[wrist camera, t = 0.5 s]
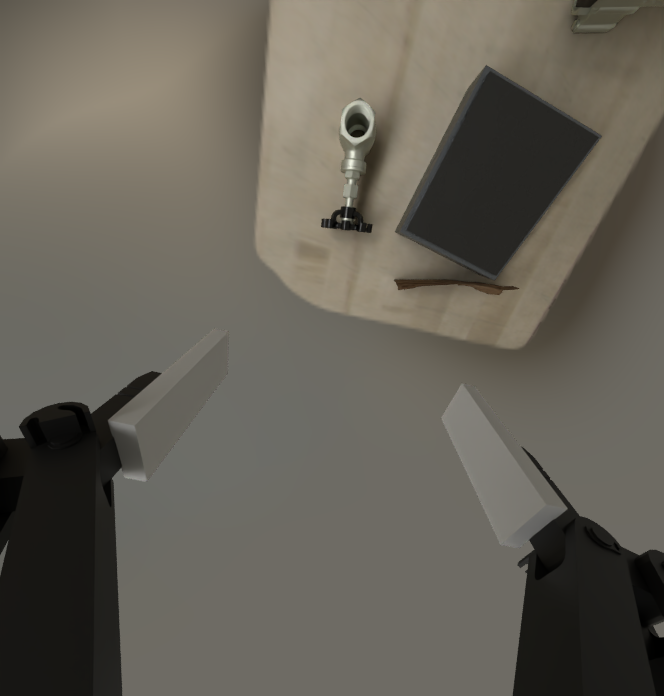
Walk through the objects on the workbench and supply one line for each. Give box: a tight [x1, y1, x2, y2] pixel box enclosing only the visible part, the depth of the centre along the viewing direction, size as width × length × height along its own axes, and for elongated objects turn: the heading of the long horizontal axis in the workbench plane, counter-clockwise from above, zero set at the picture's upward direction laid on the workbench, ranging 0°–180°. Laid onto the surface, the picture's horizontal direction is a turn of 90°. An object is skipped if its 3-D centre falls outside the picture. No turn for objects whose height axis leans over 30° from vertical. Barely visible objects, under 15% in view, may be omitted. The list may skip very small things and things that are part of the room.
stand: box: [395, 65, 602, 280], centre depth 30 cm, size 16×14×5 cm
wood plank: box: [394, 280, 519, 295], centre depth 35 cm, size 15×2×5 cm, turn 88°
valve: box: [321, 98, 376, 233], centre depth 30 cm, size 7×7×12 cm
